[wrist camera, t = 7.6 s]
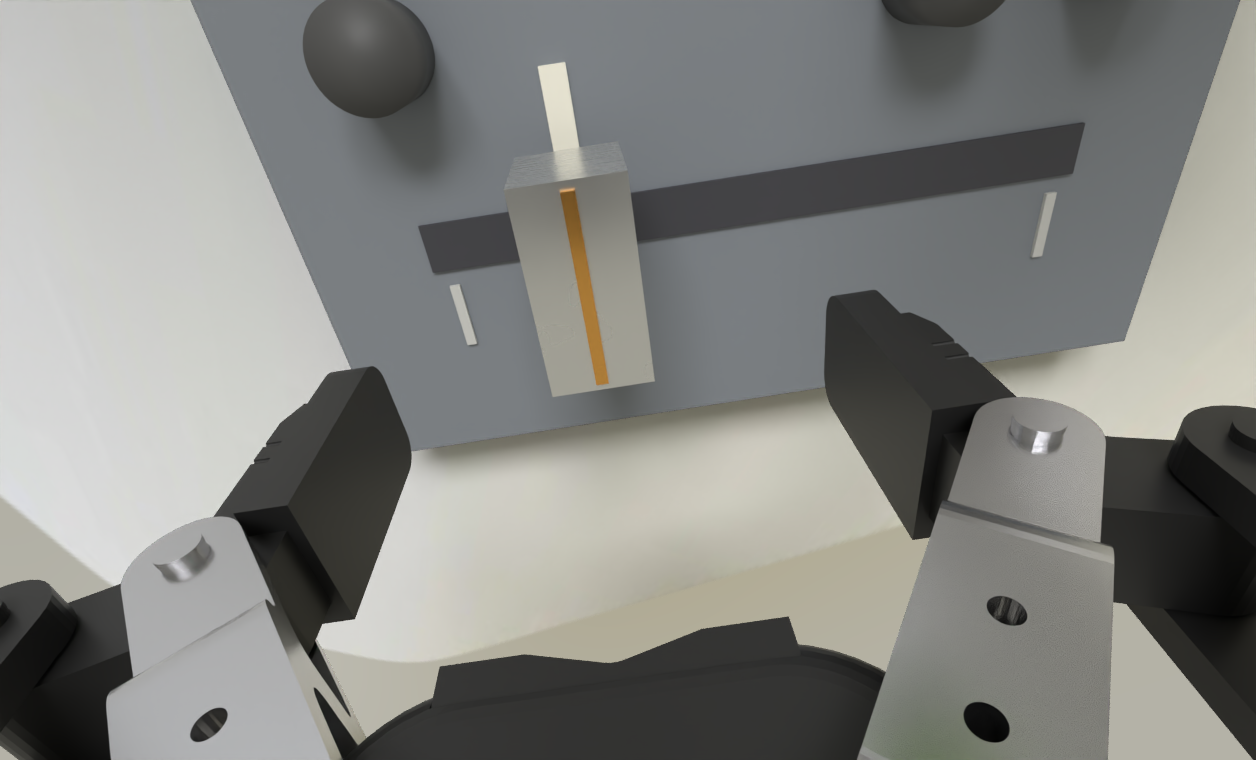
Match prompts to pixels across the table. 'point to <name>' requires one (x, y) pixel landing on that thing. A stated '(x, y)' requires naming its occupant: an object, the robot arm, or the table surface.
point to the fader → (581, 266)
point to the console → (718, 176)
